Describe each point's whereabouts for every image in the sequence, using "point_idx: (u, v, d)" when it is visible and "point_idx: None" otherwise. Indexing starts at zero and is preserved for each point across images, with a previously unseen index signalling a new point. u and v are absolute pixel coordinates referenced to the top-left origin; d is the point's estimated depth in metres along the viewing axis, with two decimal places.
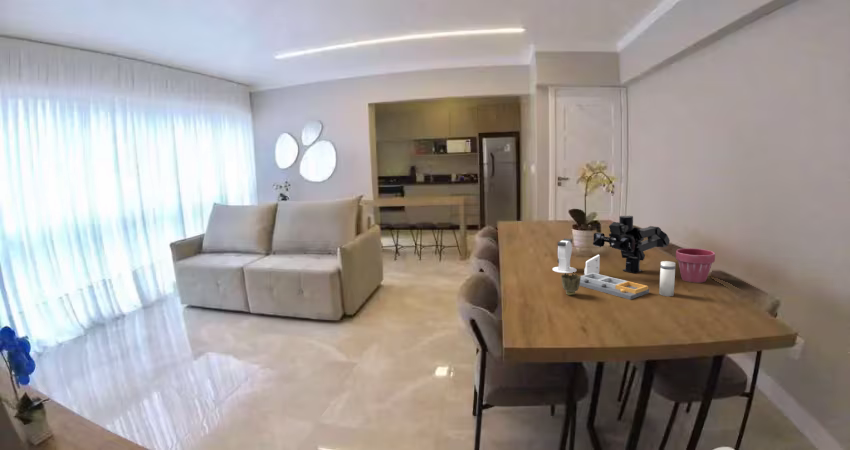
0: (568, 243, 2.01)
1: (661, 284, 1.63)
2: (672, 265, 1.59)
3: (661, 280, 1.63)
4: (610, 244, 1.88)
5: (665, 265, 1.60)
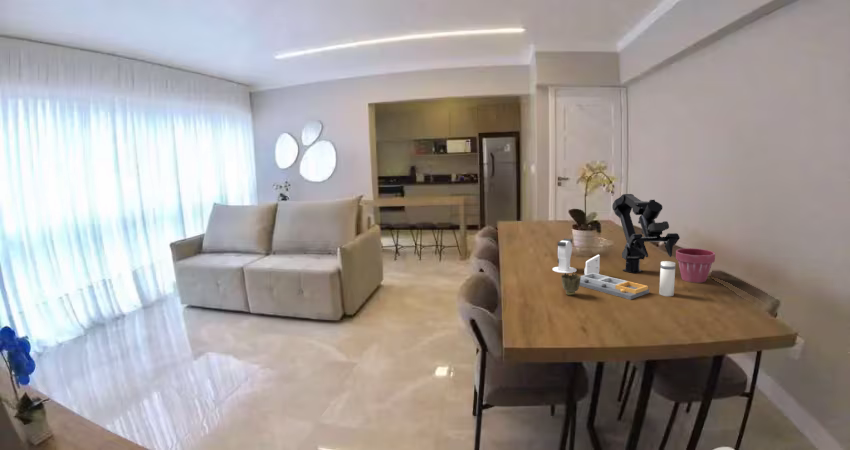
0: (568, 243, 2.01)
1: (661, 284, 1.63)
2: (672, 265, 1.59)
3: (661, 280, 1.63)
4: None
5: (665, 265, 1.60)
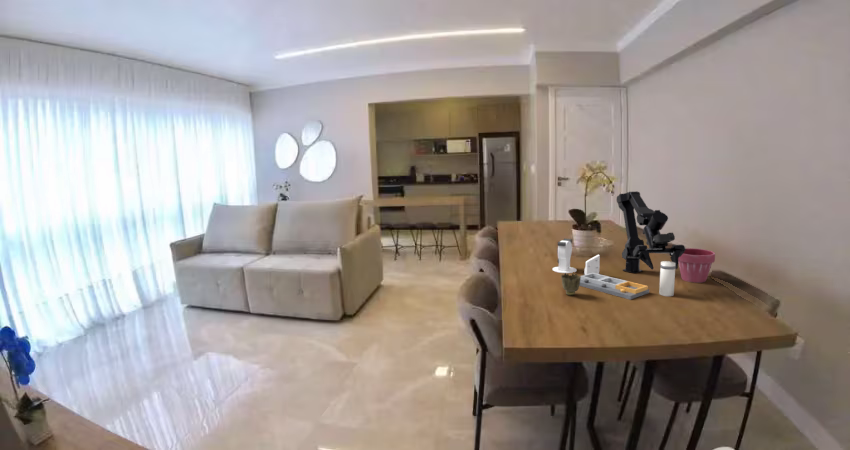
0: (568, 243, 2.01)
1: (661, 284, 1.63)
2: (672, 265, 1.59)
3: (661, 280, 1.63)
4: None
5: (665, 265, 1.60)
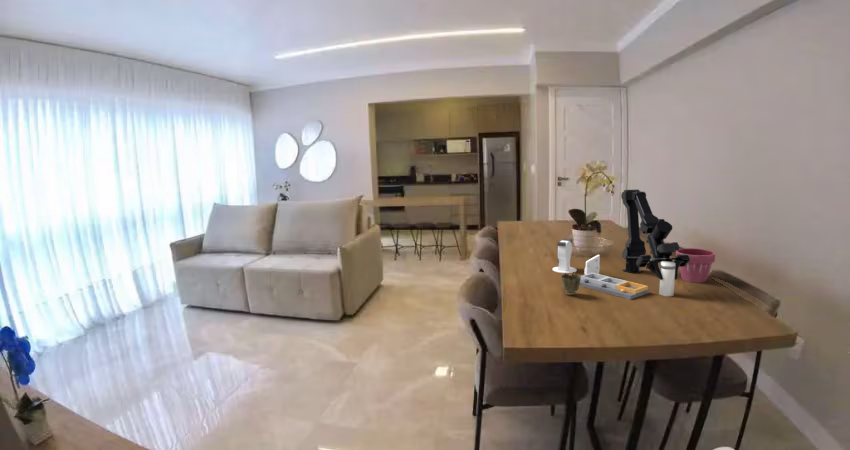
0: (568, 243, 2.01)
1: (661, 284, 1.63)
2: (672, 265, 1.59)
3: (661, 280, 1.62)
4: None
5: (665, 265, 1.60)
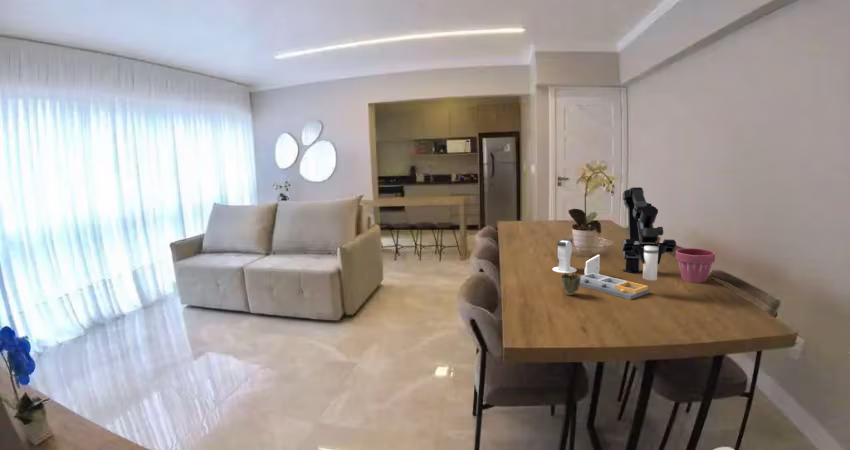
0: (568, 243, 2.01)
1: (644, 268, 1.63)
2: (654, 249, 1.60)
3: (644, 264, 1.63)
4: None
5: (647, 249, 1.61)
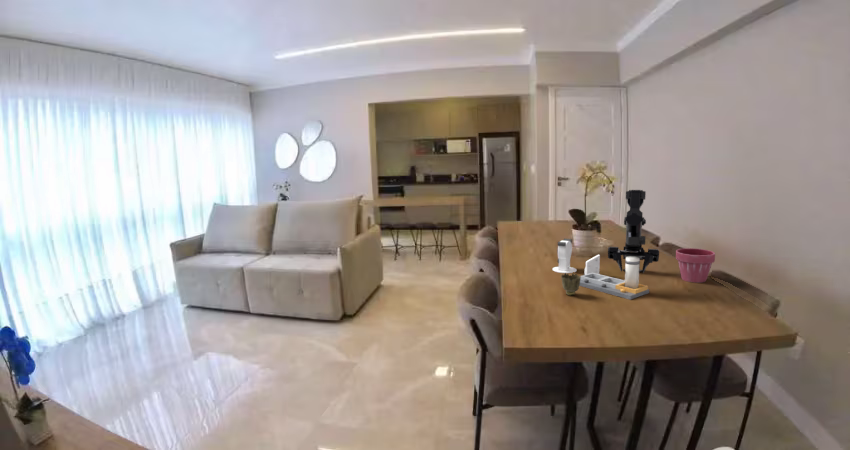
0: (568, 243, 2.01)
1: (625, 278, 1.67)
2: (634, 260, 1.63)
3: (625, 274, 1.67)
4: None
5: (627, 260, 1.64)
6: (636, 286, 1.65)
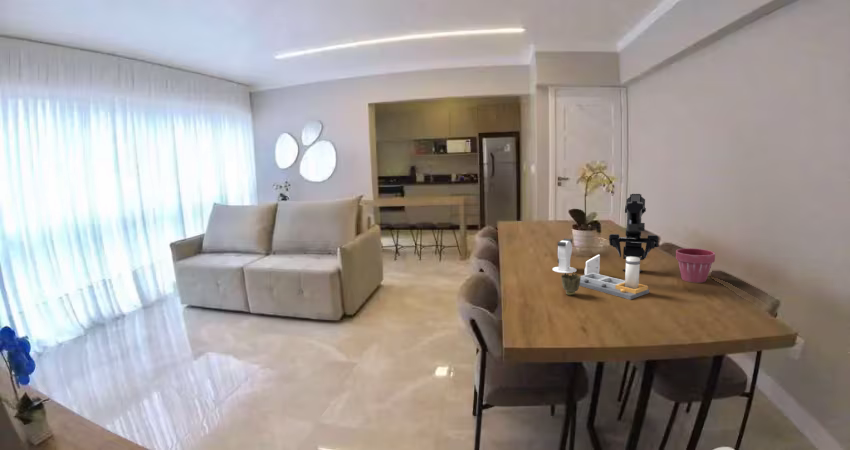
0: (568, 243, 2.01)
1: (625, 278, 1.67)
2: (634, 260, 1.63)
3: (625, 274, 1.67)
4: None
5: (628, 260, 1.64)
6: (636, 286, 1.65)
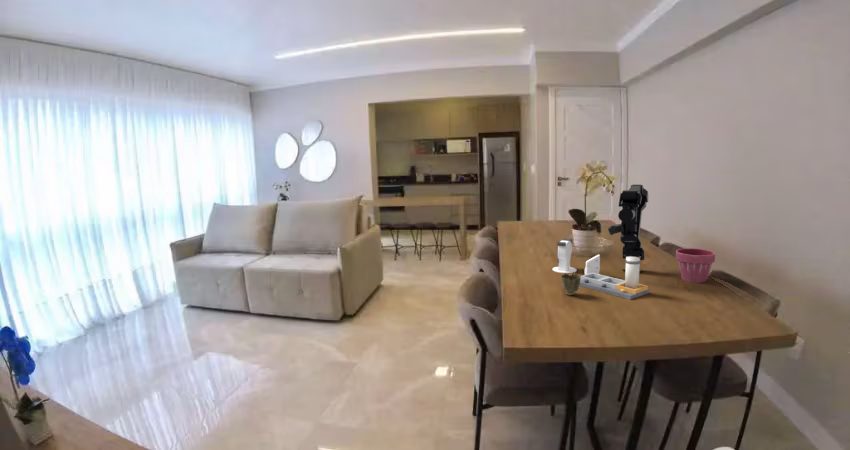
0: (568, 243, 2.01)
1: (625, 278, 1.67)
2: (634, 260, 1.63)
3: (625, 274, 1.67)
4: None
5: (627, 260, 1.65)
6: (636, 286, 1.65)
